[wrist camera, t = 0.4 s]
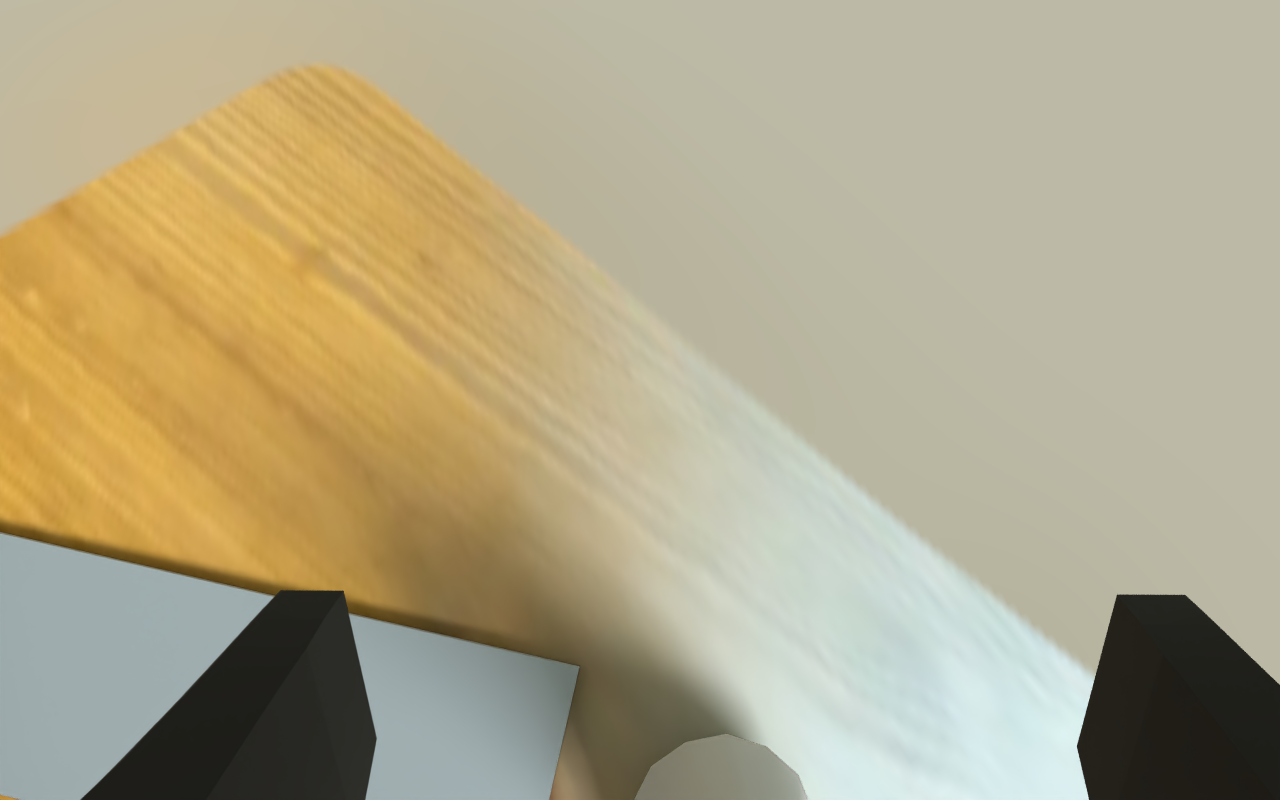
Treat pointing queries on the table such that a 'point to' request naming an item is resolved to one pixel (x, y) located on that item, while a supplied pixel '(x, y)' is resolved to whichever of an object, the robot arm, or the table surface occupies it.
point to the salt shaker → (721, 773)
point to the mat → (197, 635)
